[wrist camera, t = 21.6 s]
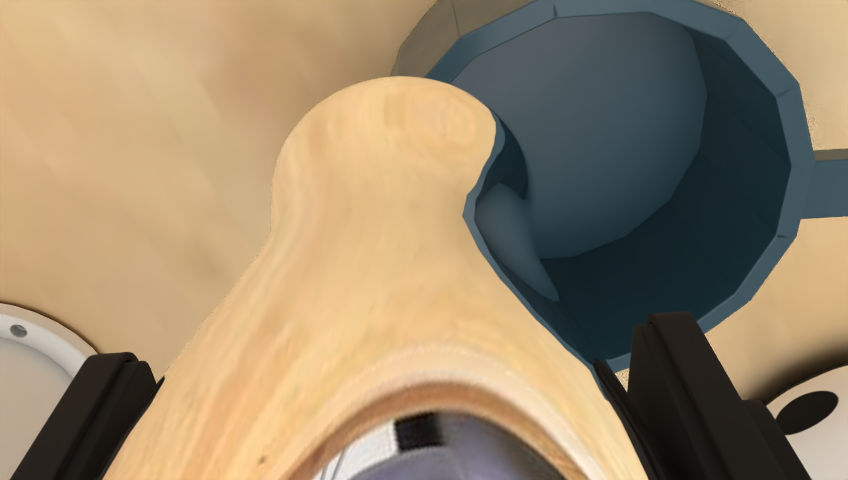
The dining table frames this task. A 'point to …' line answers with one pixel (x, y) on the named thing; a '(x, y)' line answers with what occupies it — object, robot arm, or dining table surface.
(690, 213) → the pot
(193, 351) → the beer glass
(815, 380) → the milk container
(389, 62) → the dining table surface
